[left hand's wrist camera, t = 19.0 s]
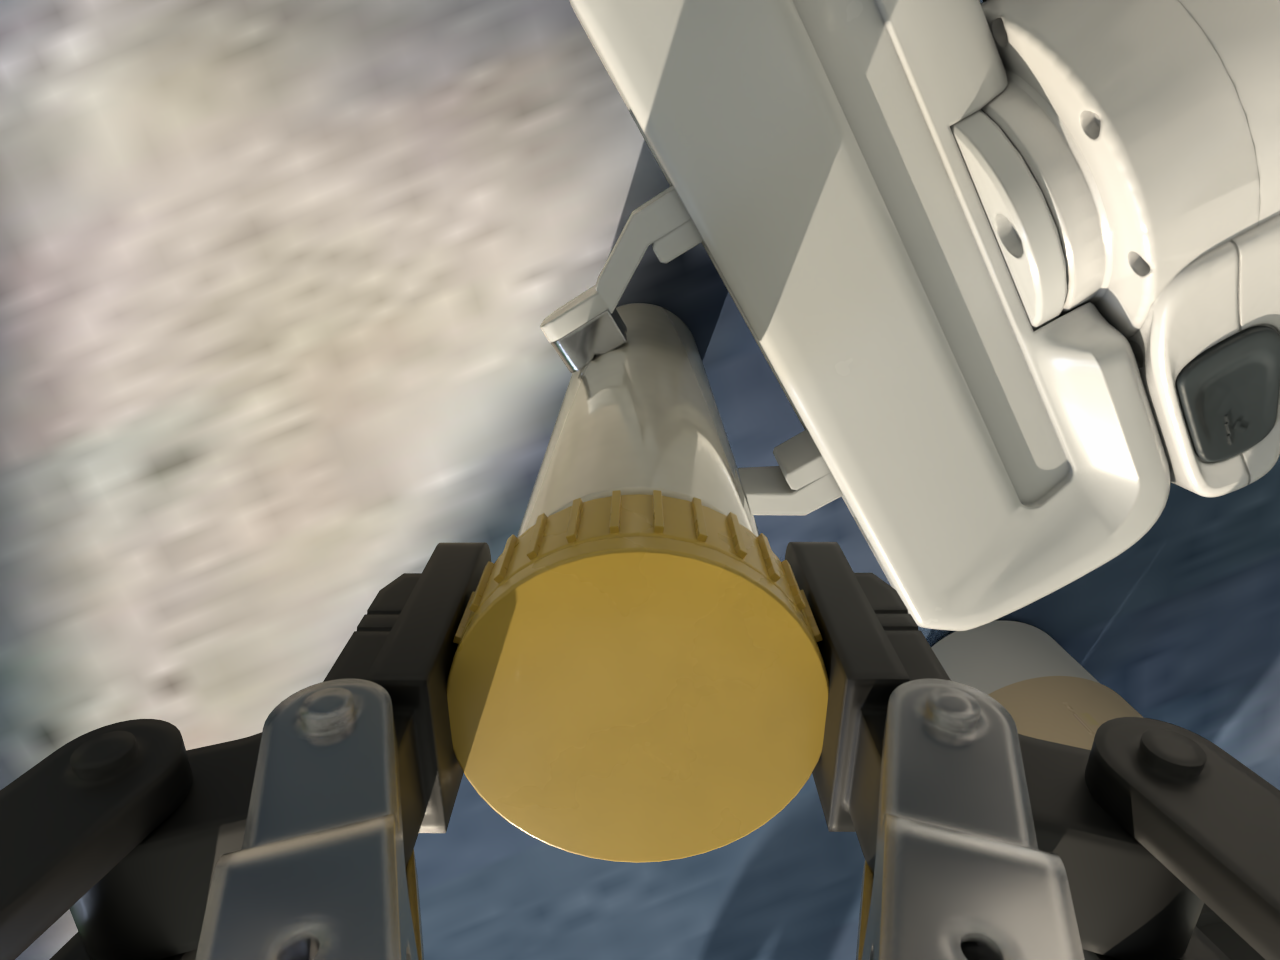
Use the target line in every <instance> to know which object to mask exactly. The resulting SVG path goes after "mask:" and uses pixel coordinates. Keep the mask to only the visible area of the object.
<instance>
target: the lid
mask: <svg viewBox="0 0 1280 960" xmlns="http://www.w3.org/2000/svg"><path fill="white" fill-rule="evenodd" d="M819 641H822V637H821V634H820V631H819V629H818V626H817V624H816V621H815V619H814V616H813V614H812V611H811V608H810V606H809V603H808V601H807V598H806V596H805V593H804V591H803V590H800V589H799V587H798V584H797V582H796V579H795V576H794V574H793V571H792V569H791V566H790V564H789V562H788V561H787V560H784V561H783V562H781V561H780V560H779V558H778V557H777V556H776V555H775V554H774V553H773V552H772V551H771V548H770V545H769V542H768V539H767V537H766V536H765V535H763V534H762V533H761V534H760V535H759V536H758V537H757V536H756V535H755V534H753V533H752V532H751V531H750V530H749V529H747V528H746V527H744V526H743V525H741V524H739V522H738V518H737V515H735V514H734V513H732V512H730V513H729V514H728V515H727V516H726V515H724V514H722V513H719V512H717V511H715V510H713V509H711V508H709V507H706V506H703V505H702V503H701V499H698V498H695V497H693V499H692V502H690V501H687V500H682V499H677V498H672V497H666V496H662V492H661V491H659V490H653V495H643V494H635V495H621V491H620V490H617V491H612V496H610V497H605V498H599V499H593V500H590V501H586V502H582V500H581V498H578V499H575V500H573V504H572V506H570V507H568V508H566V509H563V510H561V511H559V512H557V513H554V514H552V515H550V516H548V517H547V516H546V515H545V513H543V514H541V515H539V516H538V517H537V520H536V524H535V525H534V526H532V527H530V528H529V529H528V530H527V531H525V532H524V533H523V534H522V535H520V536H519V537H518V538H517V537H515V536H514V535H512V536H511V537H509V538H508V540H507V543H506V546H505V548H504V551H503V553H502V554H501V555H500V556H499V558H498V559H497V561H496V562H495V563H494V564H493V563H492V562H490V561H489V562H488V563H487V564H486V566H485V568H484V571H483V573H482V576H481V578H480V581H479V584H478V586H477V589H476V591H475V592H474V591H473V592H472V594H471V596H470V599H469V602H468V604H467V607H466V609H465V612H464V614H463V617H462V619H461V622H460V624H459V627H458V629H457V632H456V634H455V637H454V640H453V642H454V643H457V644H459V645H458V647H457V650H456V653H455V655H454V658H453V661H452V665H451V668H450V671H449V675H448V679H447V701H448V710H449V718H450V727H451V736H452V743H453V750H454V753H455V756H456V758H457V760H458V762H459V764H460V766H461V768H462V770H463V772H464V774H465V775H466V777H467V779H468V780H469V781H470V783H471V784H472V785H473V787H474V788H475V790H476V791H477V792H478V794H479V795H480V796H481V797H482V798H483V799H484V800H485V801H486V802H487V803H488V804H489V805H490V806H491V807H492V808H493V809H494V810H495V811H496V812H497V813H499V814H500V815H501V816H502V817H503V818H505V819H506V820H507V821H508V822H510V823H511V824H513V825H514V826H516V827H517V828H519V829H520V830H522V831H524V832H525V833H527V834H528V835H530V836H532V837H534V838H536V839H538V840H540V841H542V842H544V843H546V844H549V845H551V846H554V847H557V848H559V849H562V850H565V851H568V852H571V853H575V854H579V855H583V856H586V857H590V858H596V859H603V860H609V861H620V862H658V861H666V860H673V859H680V858H685V857H689V856H694V855H698V854H702V853H705V852H708V851H711V850H714V849H717V848H720V847H722V846H725V845H727V844H729V843H732V842H734V841H736V840H738V839H740V838H742V837H744V836H746V835H748V834H749V833H751V832H753V831H754V830H756V829H757V828H759V827H761V826H762V825H764V824H765V823H766V822H768V821H769V820H770V819H771V818H773V817H774V816H775V815H776V814H778V813H779V812H780V811H781V810H782V809H783V808H784V807H785V806H786V805H787V804H788V803H789V802H790V801H791V800H792V799H793V798H794V797H795V796H796V795H797V794H798V792H799V791H800V790H801V788H802V787H803V786H804V784H805V783H806V782H807V780H808V779H809V777H810V775H811V773H812V772H813V770H814V768H815V766H816V764H817V763H818V761H819V758H820V755H821V753H822V746H823V739H824V730H825V721H826V712H827V703H828V693H829V679H828V675H827V672H826V668H825V665H824V661H823V658H822V655H821V653H820V650H819V647H818V645H817V643H816V642H819Z"/></svg>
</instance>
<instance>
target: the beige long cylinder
mask: <svg viewBox="0 0 1280 960" xmlns="http://www.w3.org/2000/svg"><path fill="white" fill-rule="evenodd" d="M616 310H617V312H618V313H619V315H620V317H621V318H622V320H623V322H624V324H625V325H626V327H627V333H626V335H627V342H625V343H624V344H622V345H620V346H619V347H617V348H616V349H614V350H612V351H610V352H608V353H605V354H603V355H600V354H594V356H593V359H592V361H591V362H590V363H589V364H588V365H586V366H585V367H584V368H582V369H581V370H579V371H576V372H574V373H572V376H571V379H570V382H569V385H568V387H567V390H566V393H565V396H564V399H563V402H562V405H561V408H560V411H559V414H558V417H557V420H556V423H555V426H554V429H553V432H552V435H551V438H550V441H549V444H548V447H547V449H546V452H545V455H544V458H543V461H542V464H541V467H540V470H539V473H538V476H537V479H536V482H535V485H534V488H533V491H532V494H531V497H530V500H529V503H528V506H527V509H526V512H525V514H524V517H523V520H522V523H521V526H520V529H519V532H518V535H517V538H518V537H519V536H520V535H522V534H523V533H524V532H525V531H527V530H528V529H529V528H530V527H532V526H534V525H535V524H536V520H537V517H538V516H539V515H541V514H543V513H545V515H546V516H547V517H548V516H550V515H552V514H554V513H557V512H559V511H561V510H563V509H566V508H568V507H570V506H572V504H573V500H575V499H578V498H581V500H582V502H586V501H590V500H593V499H599V498H605V497H610V496H612V491H617V490H620V491H621V495H635V494H643V495H653V490H659V491H661V492H662V496H666V497H672V498H677V499H682V500H687V501H690V502H692V499H693V497H695V498H698V499H701V503H702V505H703V506H706V507H709V508H711V509H713V510H715V511H717V512H719V513H722V514H724V515H726V516H727V515H728V514H729V513H730V512H732V513H734V514H735V515H737V518H738V522H739V524H741V525H743V526H744V527H746V528H747V529H749V530H750V531H751V532H752V533H753V534H755V535H756V536H757V537H758V536H759V535H760V534H759V531H758V528H757V525H756V522H755V519H754V516H753V513H752V510H751V507H750V504H749V501H748V498H747V495H746V492H745V489H744V486H743V483H742V480H741V477H740V474H739V471H738V468H737V465H736V462H735V459H734V456H733V453H732V450H731V447H730V444H729V441H728V438H727V435H726V432H725V429H724V426H723V423H722V420H721V417H720V414H719V411H718V408H717V405H716V402H715V399H714V396H713V393H712V390H711V387H710V384H709V381H708V378H707V375H706V372H705V369H704V366H703V363H702V360H701V356H700V353H699V350H698V347H697V344H696V342H695V339H694V337H693V335H692V333H691V332H690V330H689V328H688V327H687V326H686V325H685V323H684V322H683V321H682V320H681V319H680V318H679V317H677V316H676V315H675V314H673V313H672V312H670V311H668V310H666V309H664V308H662V307H659V306H656V305H652V304H646V303H632V304H626V305H622V306H619V307H616Z"/></svg>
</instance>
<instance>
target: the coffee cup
mask: <svg viewBox="0 0 1280 960" xmlns="http://www.w3.org/2000/svg"><path fill="white" fill-rule="evenodd" d="M931 648H932V650H933V652H934V653H935V655H936V657H937V658H938V660H939V661H940V663H941V665H942V666H943V668H944V670H945V671H946V673H947V675H948V676H949V678H950V679H951V681H954V682H958V683H962V684H965V685H968V686H971V687H973V688H975V689H978V690H980V691H982V692H984V693H985V694H987V695H989V696H990V697H992V698H993V699H995V700H996V701H998V702H999V703H1000V704H1001V705H1002V706H1003V707H1004V708H1005V709H1006V710H1007V711H1008V712H1009V713H1010V714H1011V716H1012V718H1013V720H1014V721H1015V724H1016V727H1017V732H1018V733H1019V734H1021V735H1025V736H1028V737H1032V738H1036V739H1041V740H1045V741H1050V742H1055V743H1059V744H1064V745H1069V746H1073V747H1078V748H1083V749H1087V750H1091V748H1092V744H1093V741H1094V737H1095V734H1096V731H1097V729H1098V728H1099V727H1100V726H1101V725H1102V724H1103V723H1105V722H1106V721H1108V720H1111V719H1115V718H1121V717H1142V716H1141V715H1140V714H1139V713H1138V712H1137V711H1136V710H1135V709H1134V708H1133V707H1132V706H1131V705H1129V704H1128V703H1127V702H1126V701H1125V700H1124V699H1123V698H1122V697H1121V696H1120V695H1119V694H1117V693H1116V692H1115V691H1113V690H1112V689H1110V688H1108V687H1106V686H1104V685H1102V684H1100V683H1099V682H1098V681H1097V680H1096V679H1095V678H1094V677H1093V676H1092V675H1091V674H1090V673H1088V672H1087V671H1086V670H1085V669H1084V668H1083V667H1082V666H1081V665H1080V664H1079V663H1078V662H1077V661H1076V660H1075V659H1074V658H1073V657H1072V656H1070V655H1069V654H1068V653H1067V652H1066V651H1065V650H1064V649H1063V648H1062V647H1061V646H1060V645H1059V644H1058V643H1057V642H1056V641H1055V640H1053V639H1052V638H1051V637H1050V636H1049V635H1048V634H1046V633H1045V632H1043V631H1042V630H1040V629H1038V628H1036V627H1034V626H1031V625H1028V624H1025V623H1021V622H1015V621H992V622H990V623H987V624H984V625H982V626H979V627H976V628H973V629H969V630H965V631H956V632H954V633H952V634H950V635H948V636H946V637H945V638H943V639H942V640H940V641H939V642H937V643H936V644H935V645H934V646H932V647H931ZM1142 718H1143V717H1142ZM1196 927H1197V928H1198V929H1199V930H1200V931H1201V932H1202V933H1203V934H1205V935H1206V936H1207V937H1208V938H1209V939H1210V940H1211V941H1212V942H1213V943H1214V944H1215V945H1216V946H1217V947H1218V948H1219V949H1220V950H1221V951H1222V952H1223V953H1224V954H1225V955H1226V956H1227V957H1228V958H1229V959H1230V960H1265V959H1264V958H1263V957H1262V956H1261V955H1260V954H1259V953H1258V952H1257V951H1256V950H1255V949H1253V948H1252V947H1251V946H1250V945H1249V944H1248V943H1247V942H1246V941H1245V940H1244V939H1243V938H1242V937H1241V936H1239V935H1238V934H1237V933H1236V932H1235V931H1234V930H1233V929H1232V928H1231V927H1230V926H1229V925H1228V924H1227V923H1225V922H1224V921H1223V920H1222V919H1221V918H1220V917H1219V916H1218V915H1217V914H1216V913H1215V912H1214V911H1213V910H1212V909H1210V908H1209V907H1208V906H1207V905H1206V904H1205V903H1204V905H1203V908H1202V910H1201V913H1200V916H1199V918H1198V921H1197V923H1196Z"/></svg>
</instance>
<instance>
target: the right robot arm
mask: <svg viewBox="0 0 1280 960" xmlns="http://www.w3.org/2000/svg"><path fill="white" fill-rule="evenodd" d="M570 4H571V6H572V8H573V10H574V12H575V14H576V16H577V18H578V19H579V21H580V23H581V25H582V27H583V29H584V30H585V32H586V34H587V36H588V38H589V39H590V41H591V43H592V45H593V47H594V49H595V50H596V52H597V54H598V56H599V58H600V59H601V61H602V63H603V65H604V67H605V68H606V70H607V72H608V74H609V76H610V77H611V79H612V81H613V83H614V85H615V87H616V88H617V90H618V92H619V94H620V96H621V97H622V99H623V101H624V103H625V105H626V106H627V108H628V110H629V112H630V114H631V116H632V117H633V119H634V121H635V123H636V125H637V126H638V128H639V130H640V132H641V134H642V135H643V137H644V139H645V141H646V143H647V145H648V146H649V148H650V150H651V152H652V154H653V155H654V157H655V159H656V161H657V163H658V164H659V166H660V168H661V170H662V172H663V174H664V175H665V177H666V179H667V181H668V183H669V184H670V187H669V188H667V189H666V190H664V191H663V192H661V193H660V194H658V195H657V196H655V197H654V198H652V199H651V200H649V201H648V202H646V203H644V204H643V205H641V206H640V207H638V208H637V209H635V210H634V211H632V213H631V215H630V217H629V219H628V221H627V223H626V225H625V227H624V228H623V230H622V232H621V234H620V236H619V238H618V240H617V242H616V244H615V246H614V248H613V250H612V252H611V254H610V256H609V257H608V259H607V261H606V263H605V265H604V267H603V269H602V271H601V273H600V275H599V277H598V279H597V282H596V285H595V286H593V287H592V288H590V289H588V290H587V291H585V292H584V293H582V294H581V295H579V296H577V297H576V298H574V299H573V300H571V301H569V302H568V303H566V304H565V305H563V306H561V307H560V308H558V309H557V310H556V311H554V312H553V313H552V314H550V315H549V316H548V317H547V318H545V319H544V321H543V322H542V324H541V325H540V328H541V329H542V331H543V333H544V334H545V336H546V337H547V339H548V341H549V342H550V343H551V345H552V346H553V347H554V349H555V350H556V352H557V353H558V355H559V356H560V358H561V359H562V361H563V362H564V364H565V365H566V367H567V368H568V369H569V371H570V372H571V373H574V372H576V371H579V370H581V369H582V368H584V367H585V366H586V365H588V364H589V363H590V362H591V361H592V359H593V356H594V354H600V355H603V354H605V353H608V352H610V351H612V350H614V349H616V348H617V347H619V346H620V345H622V344H624V343H625V342H627V335H626V333H627V327H626V325H625V324H624V322H623V320H622V318H621V317H620V315H619V313H618V312H617V310H616V308H615V307H616V305H617V304H618V302H619V300H620V298H621V296H622V294H623V292H624V291H625V289H626V287H627V285H628V283H629V281H630V279H631V278H632V276H633V274H634V272H635V270H636V268H637V266H638V265H639V263H640V261H641V259H642V257H643V255H644V253H645V252H646V250H647V248H648V246H649V245H651V244H652V248H653V251H654V252H655V254H656V256H657V257H658V259H659V261H660V262H662V263H668V262H670V261H671V260H673V259H675V258H676V257H678V256H680V255H681V254H683V253H685V252H686V251H688V250H690V249H691V248H693V247H694V246H696V245H698V244H699V243H701V242H702V244H703V246H704V248H705V250H706V251H707V253H708V255H709V257H710V259H711V260H712V262H713V264H714V266H715V268H716V270H717V271H718V273H719V275H720V277H721V279H722V280H723V282H724V284H725V286H726V288H727V289H728V291H729V293H730V295H731V297H732V299H733V300H734V302H735V304H736V306H737V308H738V309H739V311H740V313H741V315H742V317H743V318H744V320H745V322H746V324H747V326H748V327H749V329H750V331H751V333H752V335H753V337H754V338H755V340H756V342H757V344H758V346H759V347H760V349H761V351H762V353H763V355H764V356H765V358H766V360H767V362H768V364H769V366H770V367H771V369H772V371H773V373H774V375H775V376H776V378H777V380H778V382H779V384H780V385H781V387H782V389H783V391H784V393H785V395H786V396H787V398H788V400H789V402H790V404H791V405H792V407H793V409H794V411H795V413H796V414H797V416H798V418H799V420H800V422H801V424H802V425H803V427H804V429H805V431H803V432H801V433H800V434H798V435H796V436H794V437H793V438H791V439H789V440H787V441H786V442H784V443H782V444H780V445H779V446H777V447H775V448H774V450H773V454H774V456H775V458H776V460H777V462H778V464H779V466H770V467H750V468H738V471H739V474H740V477H741V480H742V483H743V486H744V489H745V492H746V495H747V498H748V501H749V504H750V507H751V510H752V513H753V515H807V514H808V513H810V512H812V511H814V510H816V509H818V508H820V507H822V506H824V505H826V504H828V503H830V502H831V501H833V500H835V499H837V498H839V497H841V496H842V498H843V500H844V501H845V503H846V505H847V507H848V509H849V510H850V512H851V514H852V516H853V518H854V520H855V521H856V523H857V525H858V527H859V529H860V530H861V532H862V534H863V536H864V538H865V539H866V541H867V543H868V545H869V547H870V549H871V550H872V552H873V554H874V556H875V558H876V559H877V561H878V563H879V565H880V567H881V568H882V570H883V572H884V574H885V576H886V577H887V579H888V581H889V583H890V584H891V586H892V588H894V589H895V590H896V591H897V593H898V594H899V596H900V598H901V599H902V601H903V603H904V604H905V606H906V607H907V609H908V614H911V616H912V617H913V619H914V621H915V622H916V624H917V625H918V626H920V627H924V628H930V629H939V630H951V631H965V630H969V629H973V628H976V627H979V626H982V625H984V624H987V623H990V622H992V621H994V620H996V619H999V618H1001V617H1003V616H1005V615H1007V614H1009V613H1012V612H1014V611H1016V610H1018V609H1020V608H1022V607H1025V606H1027V605H1029V604H1031V603H1033V602H1035V601H1037V600H1039V599H1041V598H1043V597H1045V596H1047V595H1049V594H1050V593H1052V592H1054V591H1056V590H1058V589H1060V588H1062V587H1064V586H1066V585H1067V584H1069V583H1071V582H1073V581H1075V580H1077V579H1079V578H1080V577H1082V576H1084V575H1086V574H1088V573H1089V572H1091V571H1093V570H1095V569H1096V568H1098V567H1100V566H1102V565H1103V564H1105V563H1107V562H1108V561H1110V560H1112V559H1113V558H1115V557H1117V556H1118V555H1120V554H1121V553H1123V552H1124V551H1126V550H1127V549H1128V548H1130V547H1131V546H1132V545H1134V544H1135V543H1136V542H1137V541H1138V540H1139V539H1141V538H1142V537H1143V536H1144V535H1145V534H1146V533H1147V532H1148V531H1149V530H1150V529H1151V527H1152V526H1153V525H1154V524H1155V523H1156V521H1157V520H1158V518H1159V517H1160V515H1161V513H1162V511H1163V510H1164V508H1165V505H1166V502H1167V500H1168V496H1169V491H1170V482H1172V483H1174V484H1176V485H1178V486H1181V487H1183V488H1185V489H1187V490H1189V491H1191V492H1194V493H1196V494H1198V495H1201V496H1204V497H1217V496H1222V495H1225V494H1228V493H1231V492H1233V491H1236V490H1238V489H1241V488H1243V487H1245V486H1247V485H1249V484H1251V483H1253V482H1255V481H1256V480H1258V479H1260V478H1261V477H1263V476H1264V475H1265V474H1267V473H1268V472H1269V471H1270V470H1271V469H1272V468H1273V466H1274V465H1275V463H1276V462H1277V460H1278V458H1279V455H1280V0H983V2H982V3H980V1H979V0H570Z"/></svg>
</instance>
